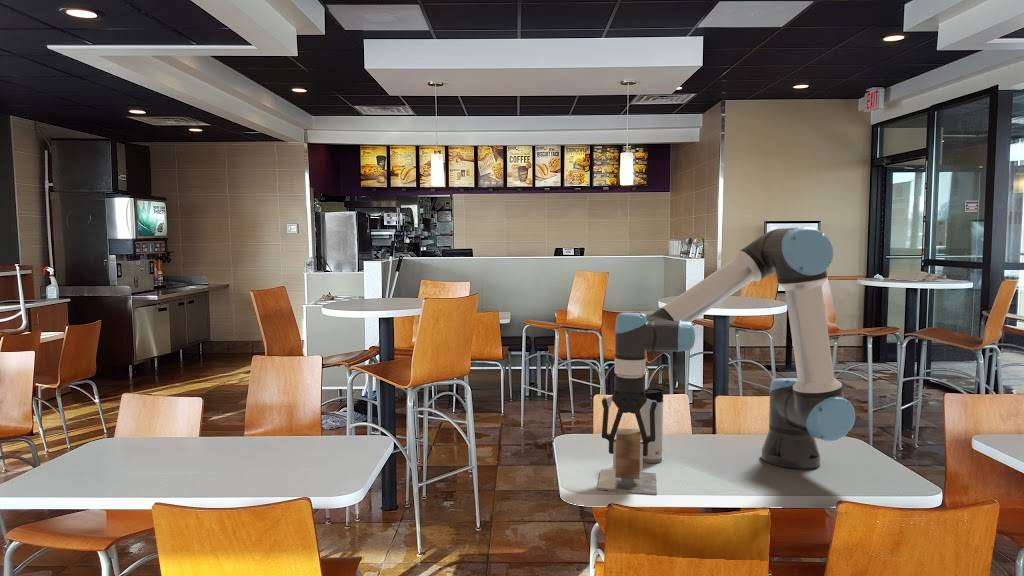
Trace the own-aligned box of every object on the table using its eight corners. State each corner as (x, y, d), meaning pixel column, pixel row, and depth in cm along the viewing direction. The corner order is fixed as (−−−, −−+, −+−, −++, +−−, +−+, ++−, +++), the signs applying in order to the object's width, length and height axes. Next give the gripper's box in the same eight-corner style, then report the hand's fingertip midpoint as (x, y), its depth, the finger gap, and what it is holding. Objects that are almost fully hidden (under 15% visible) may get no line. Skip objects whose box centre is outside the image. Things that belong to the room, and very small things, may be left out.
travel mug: (663, 464, 182) (665, 391, 181) (638, 462, 183) (640, 390, 182) (663, 457, 188) (664, 386, 187) (639, 455, 189) (640, 385, 188)
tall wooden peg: (639, 471, 169) (640, 429, 169) (639, 479, 164) (640, 435, 163) (616, 470, 170) (617, 428, 170) (615, 477, 165) (616, 434, 164)
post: (655, 475, 173) (656, 444, 172) (656, 494, 159) (657, 461, 159) (601, 471, 175) (601, 441, 175) (597, 490, 162) (598, 457, 161)
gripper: (668, 374, 168) (665, 465, 169) (592, 370, 171) (591, 460, 172) (669, 379, 160) (666, 475, 161) (590, 376, 164) (588, 469, 165)
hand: (627, 467), depth 167 cm, fingers closed on tall wooden peg, 6 cm apart
